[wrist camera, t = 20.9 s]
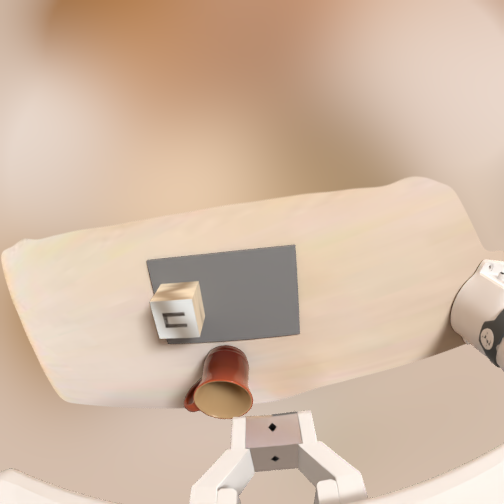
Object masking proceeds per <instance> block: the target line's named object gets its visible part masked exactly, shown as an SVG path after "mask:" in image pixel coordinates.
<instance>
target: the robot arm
mask: <svg viewBox="0 0 504 504" xmlns="http://www.w3.org/2000/svg"><path fill="white" fill-rule="evenodd" d="M451 325H452V328H453V330H454V331H455V332H456V333H458V334H460V335H461V336H462V338H463V341H464V342H465V343H466V344H472V345H473V346H474V347H475V348H476V349H478V350H479V351H480V352H481V353H482V354H484V355H485V356H487V357H488V358H489V359H490V361H491V362H492V363H493V364H494V365H495V366H497V367H500V368H501V369H502V370H503V371H504V261H497V260H488V259H485V260H483V261H482V262H481V264H480V265H479V267H478V269H477V271H476V272H475V274H474V275H473V276H472V277H471V278H470V279H469V280H468V281H467V282H466V283H465V284H464V285H463V287H462V288H461V290H460V291H459V293H458V295H457V297H456V299H455V301H454V304H453V307H452V311H451ZM293 468H298V469H299V470H300V471H301V472H302V473H303V474H304V476H305V477H306V478H307V479H308V480H309V481H310V482H311V483H312V484H313V485H314V486H315V487H316V493H315V500H314V504H504V443H503V444H501V445H499V446H498V447H496V448H494V449H492V450H490V451H489V452H487V453H485V454H483V455H482V456H479V457H477V458H475V459H473V460H472V461H470V462H467V463H465V464H463V465H461V466H459V467H457V468H454V469H452V470H450V471H448V472H446V473H443V474H441V475H438V476H436V477H433V478H431V479H428V480H426V481H423V482H420V483H417V484H415V485H412V486H409V487H406V488H403V489H400V490H397V491H393V492H390V493H387V494H383V495H380V496H376V497H372V498H368V496H367V493H366V489H365V485H364V482H363V479H362V475H361V472H360V471H358V470H357V469H356V468H354V467H353V466H352V465H350V464H349V463H348V462H347V461H345V460H344V459H343V458H341V457H340V456H339V455H338V454H336V453H335V452H334V451H333V450H331V449H330V448H329V447H328V446H326V445H325V444H324V443H323V442H321V441H317V438H316V433H315V428H314V423H313V418H312V414H311V411H310V410H307V411H299V412H290V413H282V414H273V415H264V416H245V417H233V419H232V430H231V447H230V449H227V450H226V451H225V452H224V453H223V454H222V455H221V456H220V457H219V459H218V460H217V461H216V462H215V463H214V464H213V465H212V466H211V467H210V468H209V469H208V471H206V473H205V474H204V475H203V476H202V477H201V478H200V479H199V480H198V481H197V482H196V483H195V484H194V485H193V486H192V489H191V496H190V503H189V504H241V501H240V499H239V495H240V494H241V492H242V491H243V490H244V488H245V487H246V485H247V484H248V482H249V481H250V479H251V478H252V477H253V475H254V473H255V472H258V471H270V470H276V469H277V470H281V469H293ZM0 504H119V503H114V502H110V501H106V500H102V499H98V498H95V497H91V496H87V495H84V494H80V493H77V492H74V491H71V490H68V489H65V488H61V487H59V486H56V485H53V484H50V483H48V482H45V481H42V480H40V479H37V478H35V477H32V476H30V475H28V474H25V473H23V472H21V471H19V470H16V469H12V468H11V469H7V470H4V471H2V472H0Z"/></svg>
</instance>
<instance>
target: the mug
mask: <svg viewBox="0 0 504 504" xmlns="http://www.w3.org/2000/svg"><path fill="white" fill-rule="evenodd" d="M248 375H249V365H248V361H247V358H246V356H245V354H244V353H243V352H242V351H241V350H240V349H238V348H236V347H233V346H227V345H224V346H218V347H216V348H214V349H212V350H211V351H210V352H209V354H208V356H207V357H206V359H205V362H204V368H203V374H202V378H201V379H200V380H199V381H198V382H197V383H196V384H195V385H193V386H192V387H191V389H190V390H189V391H188V393H187V395H186V397H185V400H184V407H185V408H186V409H187V410H188V411H190V412H195V411H202V412H203V413H205V414H206V415H208V416H211V417H215V418H220V419H232V418H233V417H240V416H242V415H244V414H245V413H247V412H248V411H249V410H250V409H251V407H252V404H253V397H252V394H251V392H250V390H249V388H248ZM193 400H194V402H193Z"/></svg>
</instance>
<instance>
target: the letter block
mask: <svg viewBox="0 0 504 504" xmlns="http://www.w3.org/2000/svg"><path fill="white" fill-rule="evenodd" d="M150 306H151V309H152V313H153V317H154V320H155V324H156V328H157V331H158V335H159V338H160V339H167V338H194V337H200V334H201V330H202V326H203V323H204V319H205V312H204V307H203V302H202V296H201V291H200V285H199V281H193V282H181V283H168V284H161V285H160V286H159V288H158V290H157V291H156V293H155V294H154V296H153V298H152V299H151V301H150Z"/></svg>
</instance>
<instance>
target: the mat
mask: <svg viewBox="0 0 504 504" xmlns="http://www.w3.org/2000/svg"><path fill="white" fill-rule="evenodd" d="M147 265H148V270H149V274H150V278H151V282H152V286H153V290H154V294H155V293H156V291H157V290H158V288H159V286H160V285H161V284H168V283H181V282H193V281H199V285H200V291H201V296H202V302H203V307H204V312H205V319H204V323H203V326H202V330H201V334H200V337H194V338H167V342H168V344H180V343H201V342H218V341H232V340H244V339H256V338H266V337H276V336H285V335H294V334H300V326H299V303H298V283H297V266H296V250H295V245H287V246H277V247H267V248H258V249H248V250H238V251H229V252H219V253H210V254H200V255H191V256H181V257H172V258H162V259H153V260H147Z"/></svg>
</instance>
